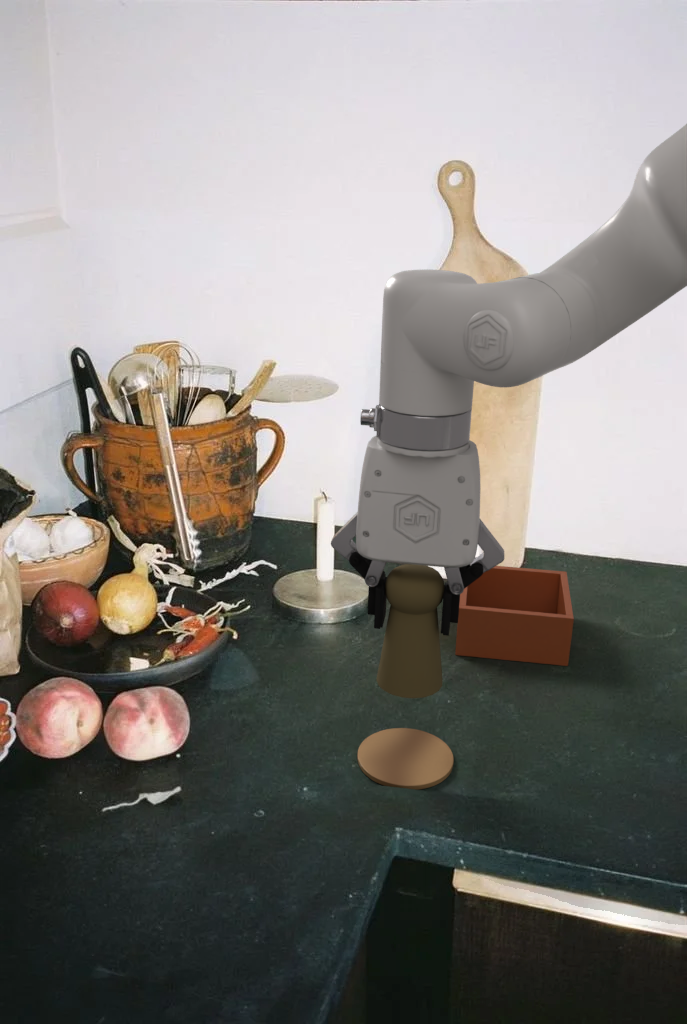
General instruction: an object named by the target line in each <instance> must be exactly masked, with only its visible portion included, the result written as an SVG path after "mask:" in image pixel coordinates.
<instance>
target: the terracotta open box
mask: <svg viewBox="0 0 687 1024" xmlns="http://www.w3.org/2000/svg"><path fill="white" fill-rule="evenodd" d="M572 603H573V602H572V596H571V592H570V583H569V578H568V572H567V571H565V570H564V571H563V570H552V569H539V568H529V567H516V566H515V567H514V566H507V565H506V566H504V565H497V566H495V567H493V568H492V569H490V570H489V571H486V572H484V573H483V574H482V576H481V577H479V578H478V579H477V580H475V581H474V582H473V583H471V584H470V585H469V586H467V587H466V588H465V589H464V591H463V593H461V594H460V604H459V617H458V623H456V625H457V626H456V637H455V639H456V640H455V651H454V655H455V656H461V657H470V658H471V657H472V658H481V659H491V660H492V659H493V660H501V661H502V660H503V661H511V662H512V661H513V662H514V661H515V662H522V663H534V664H543V665H553V666H564V667H568V666H569V661H570V654H571V646H572V637H573V628H574V622H575V618H574V617H575V616H574V610H573V604H572Z"/></svg>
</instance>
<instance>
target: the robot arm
mask: <svg viewBox="0 0 687 1024" xmlns="http://www.w3.org/2000/svg"><path fill="white" fill-rule="evenodd" d="M686 287H687V123H686V124H684V125H683V126H682V127H680V128H679V129H678V130H676V131H675V132H674V133H673V134H672V135H670V136H669V137H668V138H666V139H665V140H663V142H661V143H660V144H659V145H657V146H656V147H655V148H654V149H653V150H651V151H650V152H649V154H648V155H647V156H646V157H645V158H644V159H643V161H642V163H641V164H640V165H639V167H638V170H637V171H636V175H635V178H634V181H633V184H632V188H631V190H630V192H629V195H628V196H627V198H626V199H625V201H624V202H623V203H622V204H621V206H620V207H619V208H618V210H617V211H615V212H614V214H613V215H611V217H609V219H608V220H607V221H606V222H605V223H604V224H602V225H601V226H600V227H599V228H597V230H595V231H594V232H592V234H591V235H589V236H588V237H587V238H585V239H584V240H583V241H581V242H580V243H578V245H576V246H575V247H574V248H572V249H571V250H569V251H568V252H567V253H566V254H564V255H563V256H562V257H560V258H559V259H558V260H557V261H555V262H554V263H552V264H551V265H550V266H548V267H547V268H545V269H543V270H542V271H540V272H536V273H531V274H527V275H522V276H518V277H515V278H514V277H513V278H511V279H505V280H500V281H494V282H493V281H492V282H483V283H478V282H477V280H475V278H474V277H472V276H471V275H468V274H466V273H463V272H460V271H459V272H458V271H452V270H445V269H410V270H401V271H398V272H395V273H394V274H392V275H391V276H390V277H389V278H388V279H387V281H386V283H385V285H384V289H383V295H382V315H381V343H380V369H379V370H380V371H379V393H378V394H379V395H378V396H379V397H378V404H376V405H375V407H371V408H370V409H365V408H361V411H360V426H367V427H369V428H372V429H373V432H376V434H375V435H374V436H373V437H371V438H370V440H369V441H368V443H367V446H366V449H365V454H364V458H363V463H362V468H361V475H360V483H359V493H358V503H357V511H356V512H355V514H353V515H352V517H350V518H349V519H348V520H347V521H346V522H345V524H343V526H342V527H340V529H339V530H338V531H337V532H336V533H334V535H333V537H332V538H331V541H330V546H331V547H332V548H333V549H334V550H335V551H336V552H337V553H338V554H339V555H341V557H342V558H344V559H346V560H347V561H348V562H349V564H350V567H352V568H353V569H354V570H355V571H356V572H357V573H358V574H359V575H360V576H361V577H362V579H364V583H365V585H366V586H368V594H367V595H368V596H367V615H368V616H373V617H374V618H373V629H374V630H375V629H377V630H380V629H383V627H384V624H385V620H386V619H385V618H386V616H387V601H388V600H387V598H386V594H385V583H386V579H387V573H386V571H385V567H386V565H387V563H393V564H401V565H405V564H413V565H424V566H429V567H437V568H439V567H440V568H443V570H444V573H445V576H446V581H444V585H445V589H444V594H443V600H442V606H441V607H442V608H441V624H440V634H442V635H443V636H450V628H451V623H452V624H458V617H459V604H460V594H461V593H463V591H464V589H465V588H466V587H467V586H469V585H470V584H471V583H473V582H474V581H475V580H477V579H478V578H479V577H481V576H482V574H483V573H484V572H486V571H489V570H490V569H492V568H493V567H495V566H499V565H500V564H501V563H503V562H504V561H505V549H504V547H502V545H501V544H500V542H499V541H498V539H496V537H495V536H494V535H493V533H492V532H491V531H490V530H489V528H488V527H487V526H486V524H485V523H484V522H483V520H482V519H481V518H480V517H481V465H480V456H479V451H478V447H477V444H476V443H475V442H474V441H473V440H470V439H471V438H470V437H471V426H472V425H471V424H472V411H473V399H474V388H475V387H474V386H475V385H474V384H475V382H476V383H477V384H478V383H479V384H481V385H484V386H489V387H495V388H514V387H519V386H521V385H525V384H527V383H530V382H531V381H534V380H537V379H538V378H541V377H544V376H545V375H547V374H549V373H551V372H555V371H556V370H559V369H562V368H564V367H566V366H568V365H572V364H573V363H575V362H577V361H578V360H580V359H582V358H583V357H585V356H587V355H589V354H590V353H591V352H593V351H595V350H596V349H597V348H599V347H600V346H602V345H603V344H605V343H606V342H607V341H609V340H610V339H612V338H613V337H615V336H617V335H618V334H620V333H621V332H622V331H624V330H625V329H627V328H628V327H630V326H632V325H633V324H635V323H636V322H637V321H639V320H640V319H642V318H643V317H644V316H646V315H648V314H649V313H651V312H653V310H655V309H656V308H658V307H659V306H661V305H662V304H663V303H665V302H666V301H668V300H669V299H671V298H672V297H673V296H675V295H676V294H678V293H679V292H680V291H681V290H683V289H685V288H686ZM353 539H355V541H354V540H353ZM478 546H479V548H480V549H481V550H482V553H479V555H478V556H476V555H477V550H478Z"/></svg>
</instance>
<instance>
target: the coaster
mask: <svg viewBox="0 0 687 1024" xmlns="http://www.w3.org/2000/svg"><path fill="white" fill-rule="evenodd" d="M356 758H357V763H358V767H359V768H360V770H361V772H362V773H363V774H364V775H365V776H366V777H368V778H369V779H370V780H372V781H373V782H375V783H377V784H379V785H381V786H384V787H391V788H399V789H408V790H415V791H417V790H419V791H420V790H425V789H429V788H432V787H435V786H437V785H439V784H440V783H442V782H444V781H445V780H446V779H447V778H448V777H449V776H450V774H451V773H452V772H453V768H454V754H453V752H452V749H451V748H450V746H449V745H448V744H447V743H446V742H445V741H444V740H443V739H441V738H440V737H438V736H436V735H434V734H432V733H429V732H427V731H424V730H421V729H416V728H411V727H395V728H386V729H383V730H379V731H377V732H373V733H372V734H370V735H369V736H367V737H366V738H364V740H363V741H362V742H361V743H360V744H359V747H358V749H357V757H356Z"/></svg>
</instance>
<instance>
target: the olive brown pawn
mask: <svg viewBox="0 0 687 1024" xmlns="http://www.w3.org/2000/svg"><path fill="white" fill-rule="evenodd" d="M386 577H387V579H386V583H385V594H386V598H387V601H388V603H389V604H390V606H389V610H388V616H387V622H386V626H385V631H384V632H385V633H384V638H383V643H382V648H381V653H380V659H379V663H378V669H377V674H376V679H375V681H376V683H377V685H378V687H379V688H380V689H382V691H384V692H386V693H388V694H389V695H392V696H395V697H399V698H402V699H403V698H404V699H423V698H427V697H430V696H433V695H435V694H436V693H438V692H439V691H440V690H441V688H442V687H443V683H444V680H443V667H442V653H441V652H442V651H441V640H440V628H439V627H440V626H439V615H438V607H439V606H440V605H441V604H442V603H443V594H444V589H445V580H444V578H443V577H442V575H441V573H440V571H438V570H437V569H436V568H434V567H433V566H424V565H413V564H401V565H399V566H396V567H394V568H393V569H392V570H391V571H390V572H389V573H388V574H387V575H386Z"/></svg>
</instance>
